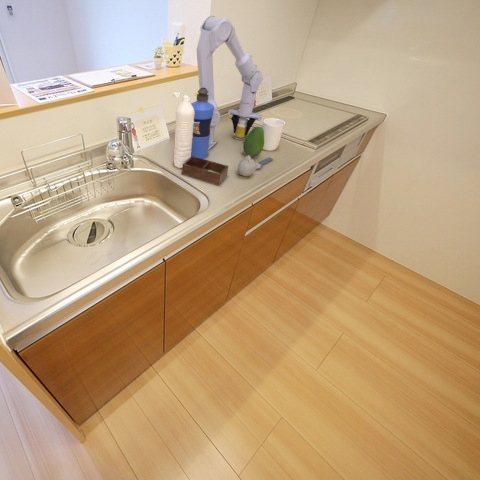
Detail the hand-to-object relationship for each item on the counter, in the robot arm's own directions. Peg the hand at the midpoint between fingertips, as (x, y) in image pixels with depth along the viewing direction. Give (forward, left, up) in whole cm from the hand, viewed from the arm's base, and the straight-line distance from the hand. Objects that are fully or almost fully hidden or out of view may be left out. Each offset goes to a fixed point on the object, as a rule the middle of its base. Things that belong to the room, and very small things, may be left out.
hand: (240, 133), depth 125 cm
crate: (0, -39, -2) cm, 39 cm away
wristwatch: (+15, -23, -2) cm, 27 cm away
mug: (+14, -1, -2) cm, 14 cm away
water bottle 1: (-12, -36, -2) cm, 38 cm away
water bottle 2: (-10, -25, -2) cm, 27 cm away
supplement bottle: (0, 0, -2) cm, 2 cm away
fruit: (+10, -15, -2) cm, 18 cm away
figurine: (+13, -31, -2) cm, 34 cm away
